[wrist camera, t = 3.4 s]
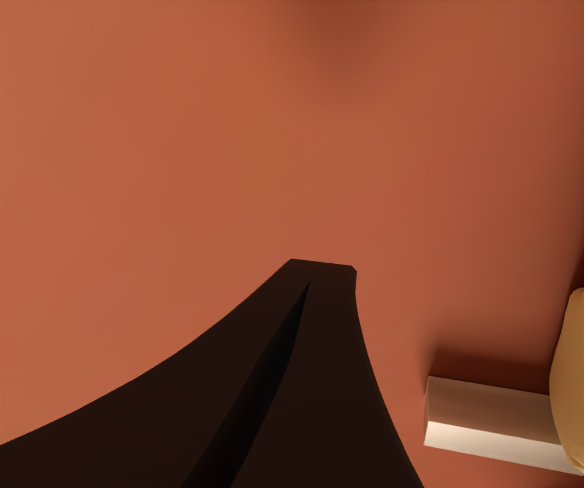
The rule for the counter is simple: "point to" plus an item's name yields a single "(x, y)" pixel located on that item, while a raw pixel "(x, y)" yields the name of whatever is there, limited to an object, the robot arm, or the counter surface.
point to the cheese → (570, 382)
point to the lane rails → (493, 423)
